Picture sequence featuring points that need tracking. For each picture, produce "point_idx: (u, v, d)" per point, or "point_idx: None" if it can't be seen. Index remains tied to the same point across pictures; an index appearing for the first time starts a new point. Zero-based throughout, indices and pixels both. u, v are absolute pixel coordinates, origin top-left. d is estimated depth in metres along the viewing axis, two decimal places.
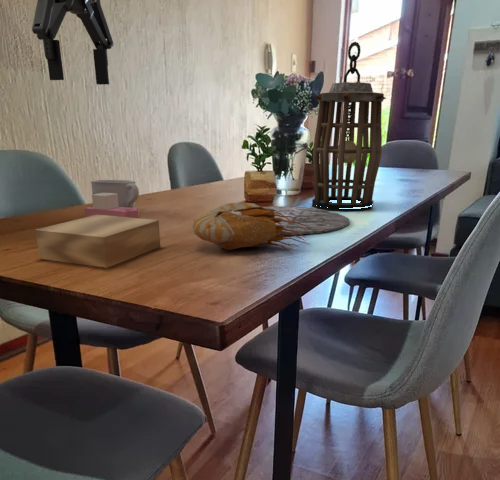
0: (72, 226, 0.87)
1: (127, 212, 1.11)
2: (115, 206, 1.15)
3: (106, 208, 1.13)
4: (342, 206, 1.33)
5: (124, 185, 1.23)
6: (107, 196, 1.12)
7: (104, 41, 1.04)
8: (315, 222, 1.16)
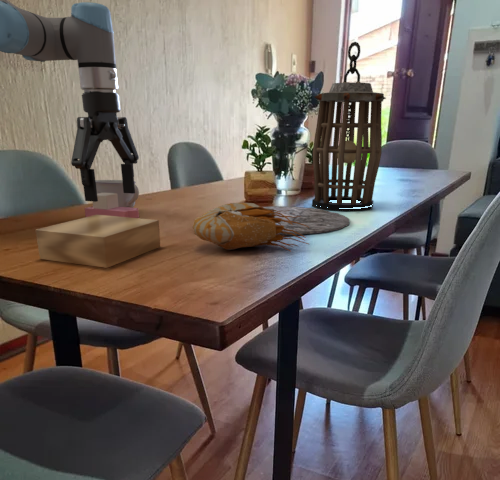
0: (72, 226, 0.87)
1: (127, 212, 1.11)
2: (115, 206, 1.15)
3: (106, 208, 1.13)
4: (342, 206, 1.33)
5: None
6: (107, 196, 1.12)
7: (131, 157, 1.16)
8: (315, 222, 1.16)
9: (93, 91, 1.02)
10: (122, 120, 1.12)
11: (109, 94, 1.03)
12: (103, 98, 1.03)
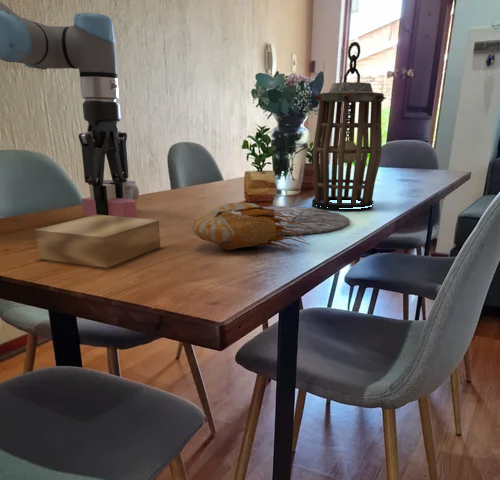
0: (72, 226, 0.87)
1: (125, 203, 1.11)
2: (113, 197, 1.14)
3: None
4: (342, 206, 1.33)
5: (124, 185, 1.23)
6: None
7: (121, 175, 1.14)
8: (315, 222, 1.16)
9: (94, 100, 1.03)
10: (122, 134, 1.13)
11: (110, 104, 1.04)
12: (103, 108, 1.03)
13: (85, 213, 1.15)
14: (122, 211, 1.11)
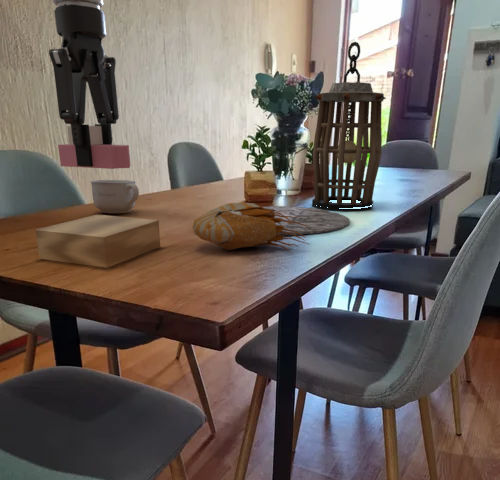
0: (72, 226, 0.87)
1: (114, 148, 0.84)
2: (98, 143, 0.87)
3: None
4: (342, 206, 1.33)
5: (124, 185, 1.23)
6: None
7: (109, 114, 0.88)
8: (315, 222, 1.16)
9: (69, 4, 0.76)
10: (109, 59, 0.86)
11: (91, 9, 0.77)
12: (82, 14, 0.77)
13: (63, 164, 0.88)
14: (110, 158, 0.84)
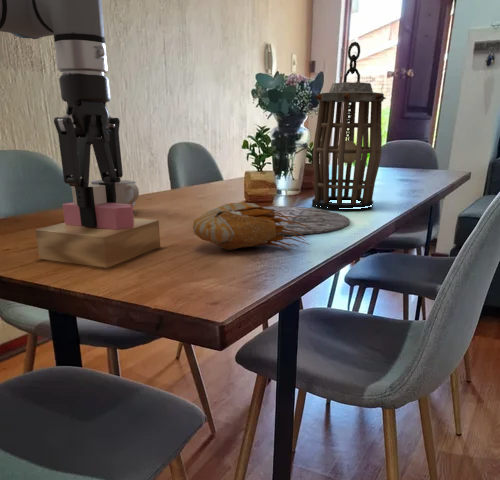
0: (72, 226, 0.87)
1: (118, 209, 0.84)
2: (102, 202, 0.88)
3: None
4: (342, 206, 1.33)
5: (124, 185, 1.23)
6: None
7: (113, 173, 0.88)
8: (315, 222, 1.16)
9: (74, 73, 0.77)
10: (113, 120, 0.87)
11: (95, 77, 0.78)
12: (87, 83, 0.77)
13: (67, 223, 0.89)
14: (114, 220, 0.84)
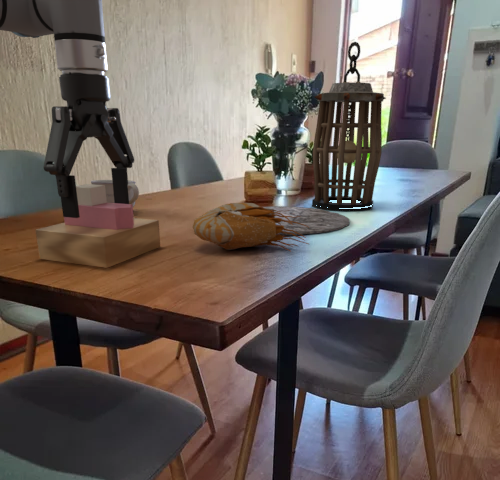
0: (72, 226, 0.87)
1: (117, 209, 0.84)
2: (102, 202, 0.88)
3: (90, 204, 0.86)
4: (342, 206, 1.33)
5: None
6: (91, 188, 0.85)
7: (124, 160, 0.91)
8: (315, 222, 1.16)
9: (74, 72, 0.77)
10: (113, 112, 0.86)
11: (95, 76, 0.78)
12: (86, 82, 0.77)
13: (67, 223, 0.89)
14: (114, 220, 0.84)
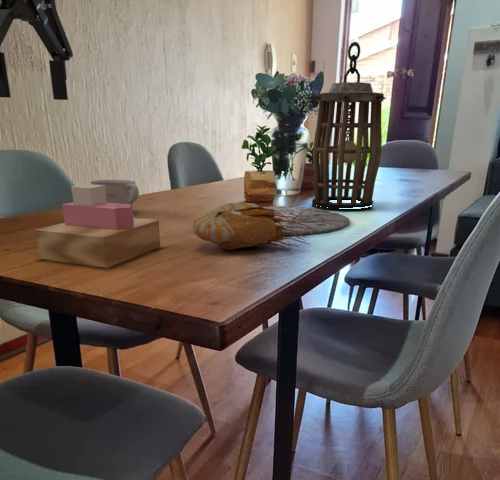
0: (72, 226, 0.87)
1: (117, 209, 0.84)
2: (102, 202, 0.88)
3: (90, 204, 0.86)
4: (342, 206, 1.33)
5: (124, 185, 1.23)
6: (91, 188, 0.85)
7: (61, 52, 0.92)
8: (315, 222, 1.16)
9: None
10: None
11: None
12: None
13: (67, 223, 0.89)
14: (114, 220, 0.84)
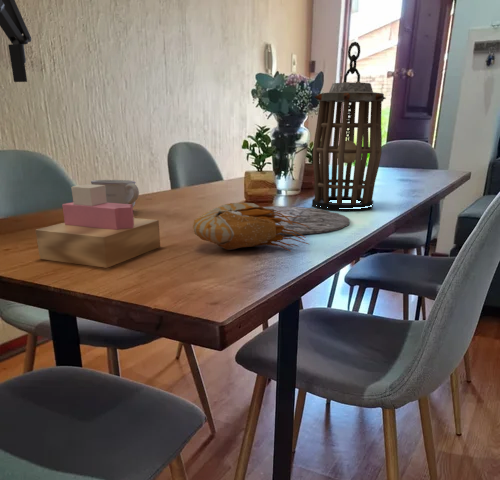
0: (72, 226, 0.87)
1: (117, 209, 0.84)
2: (102, 202, 0.88)
3: (90, 204, 0.86)
4: (342, 206, 1.33)
5: (124, 185, 1.23)
6: (91, 188, 0.85)
7: (19, 36, 0.98)
8: (315, 222, 1.16)
9: None
10: None
11: None
12: None
13: (67, 223, 0.89)
14: (114, 220, 0.84)
